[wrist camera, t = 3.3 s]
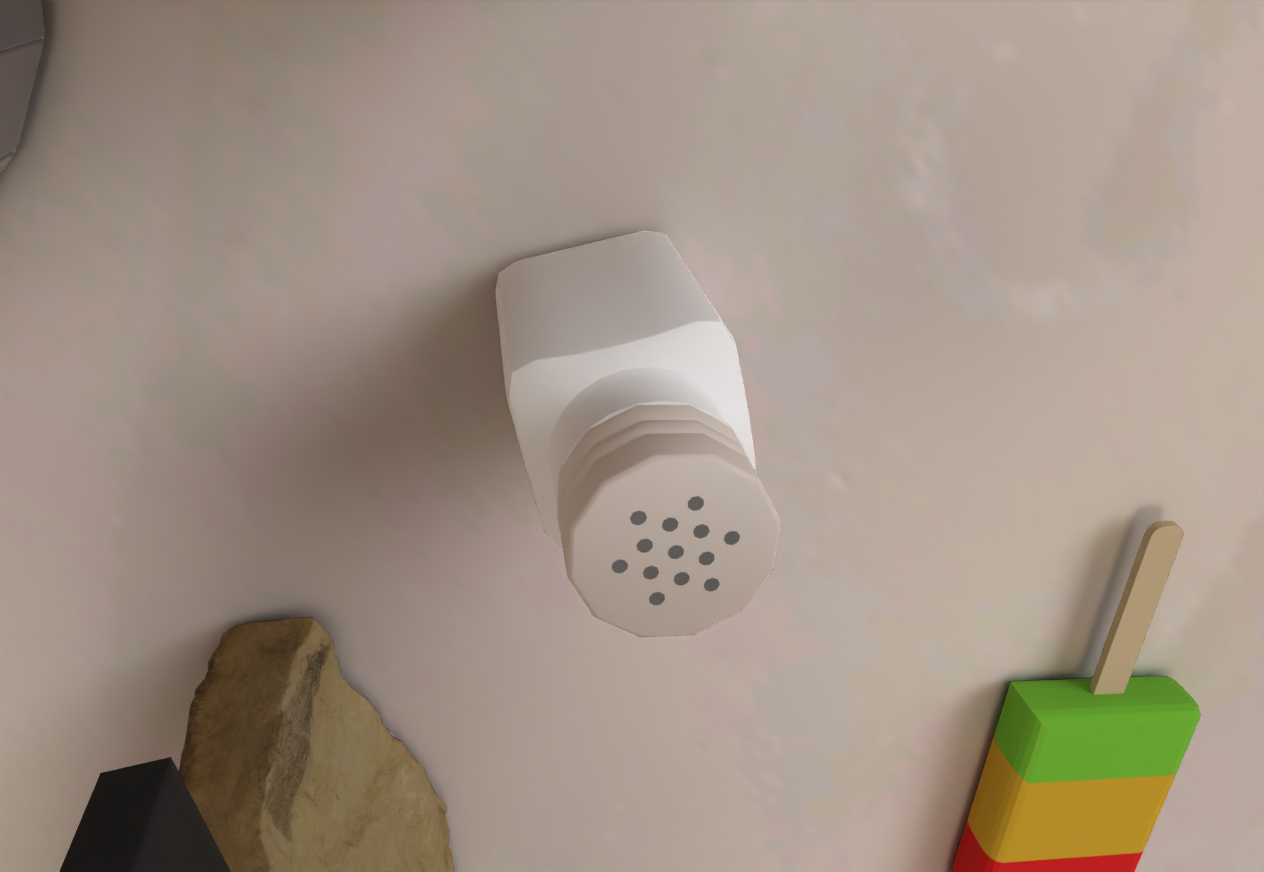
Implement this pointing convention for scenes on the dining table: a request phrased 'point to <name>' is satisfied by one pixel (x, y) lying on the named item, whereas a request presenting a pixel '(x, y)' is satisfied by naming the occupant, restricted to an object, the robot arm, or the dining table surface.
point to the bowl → (17, 68)
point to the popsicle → (1085, 750)
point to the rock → (304, 763)
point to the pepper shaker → (636, 433)
